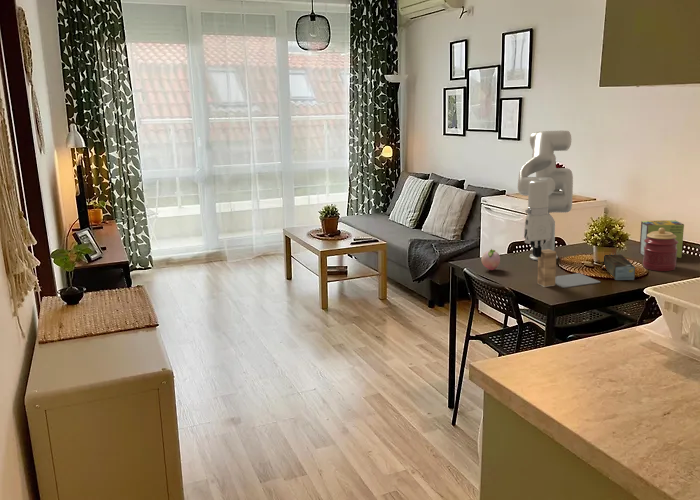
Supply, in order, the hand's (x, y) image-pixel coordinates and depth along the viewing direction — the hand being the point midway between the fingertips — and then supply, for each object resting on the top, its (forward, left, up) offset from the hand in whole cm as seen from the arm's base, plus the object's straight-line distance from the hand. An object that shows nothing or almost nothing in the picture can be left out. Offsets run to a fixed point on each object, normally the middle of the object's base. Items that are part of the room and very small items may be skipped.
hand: (536, 256), depth 236 cm
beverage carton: (-1, +40, -13) cm, 42 cm away
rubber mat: (0, +16, -12) cm, 20 cm away
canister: (-1, +61, -13) cm, 62 cm away
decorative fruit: (-28, -5, -13) cm, 31 cm away
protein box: (-17, +76, -13) cm, 79 cm away
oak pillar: (0, +5, -12) cm, 13 cm away
